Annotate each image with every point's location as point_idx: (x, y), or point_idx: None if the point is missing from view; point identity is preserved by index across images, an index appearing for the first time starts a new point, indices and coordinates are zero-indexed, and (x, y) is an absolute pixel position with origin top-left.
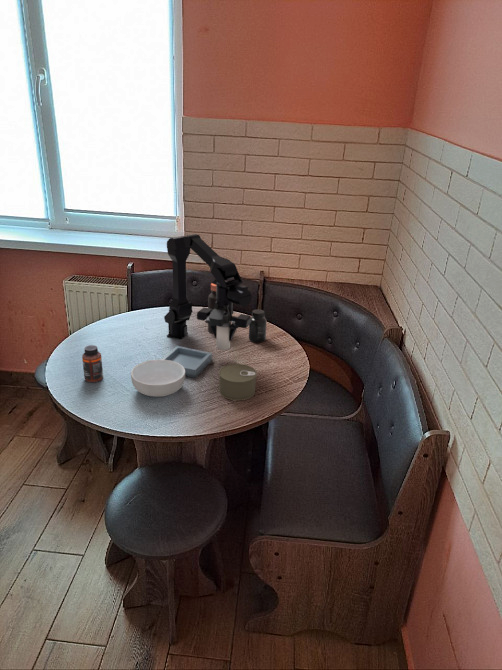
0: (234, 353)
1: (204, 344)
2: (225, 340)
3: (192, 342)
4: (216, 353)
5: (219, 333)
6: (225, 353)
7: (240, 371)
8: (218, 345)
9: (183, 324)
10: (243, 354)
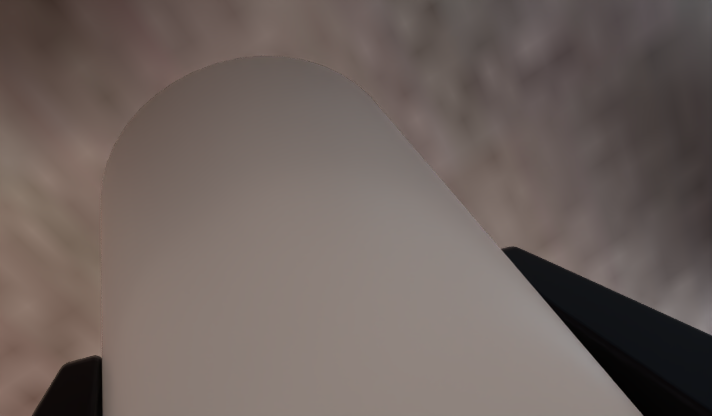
0: None
1: (586, 258)
2: (156, 276)
3: (708, 217)
4: None
5: (476, 365)
6: None
7: None
8: (328, 100)
9: None
10: (46, 358)
